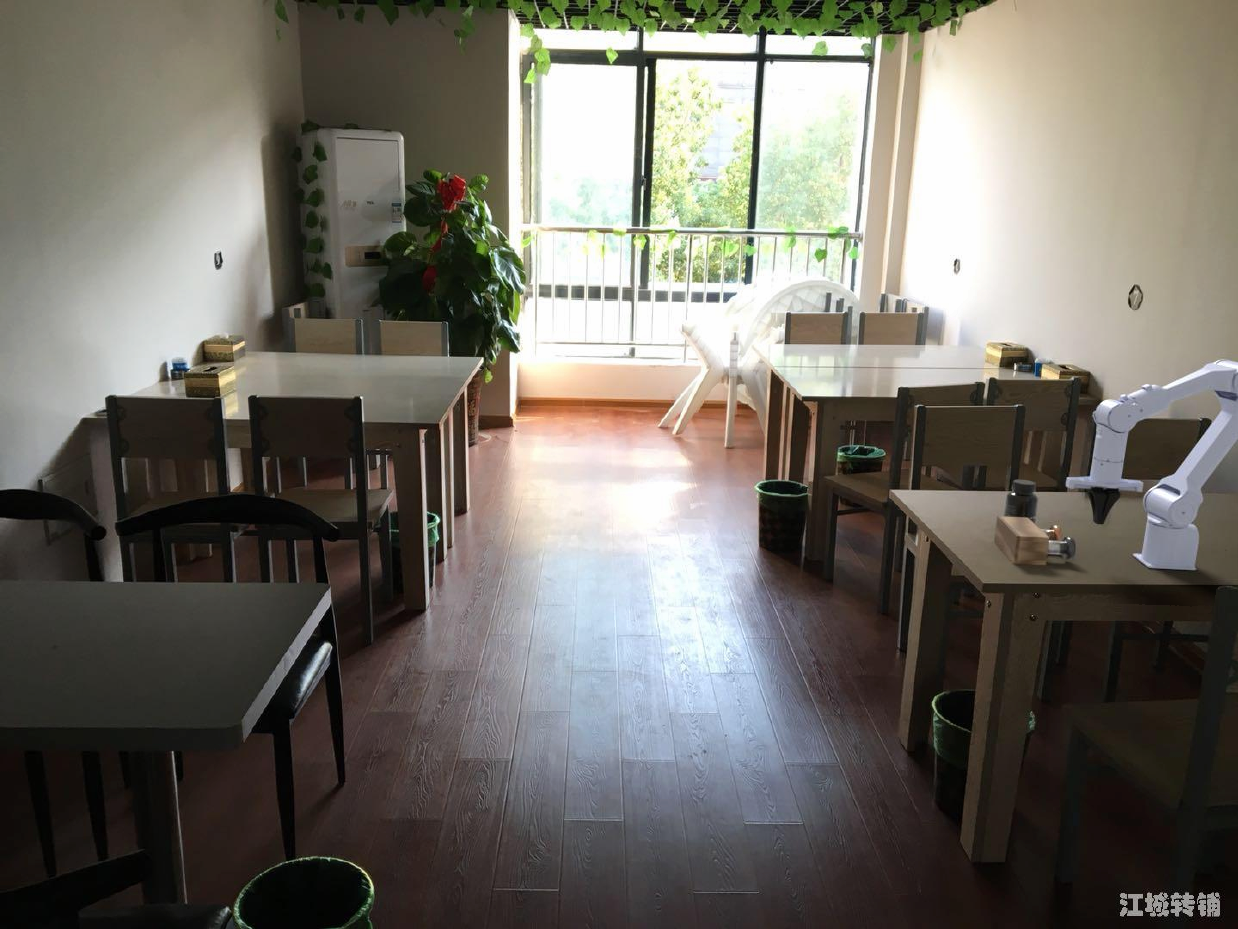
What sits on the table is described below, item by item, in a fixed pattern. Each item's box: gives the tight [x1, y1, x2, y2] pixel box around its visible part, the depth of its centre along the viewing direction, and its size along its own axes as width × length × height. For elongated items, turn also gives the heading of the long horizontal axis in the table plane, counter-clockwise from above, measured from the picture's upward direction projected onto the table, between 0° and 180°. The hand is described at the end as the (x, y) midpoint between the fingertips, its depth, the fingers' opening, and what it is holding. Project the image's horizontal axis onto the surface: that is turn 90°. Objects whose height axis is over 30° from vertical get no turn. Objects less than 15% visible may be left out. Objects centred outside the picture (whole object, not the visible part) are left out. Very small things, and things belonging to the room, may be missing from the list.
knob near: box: [1047, 536, 1077, 560], centre depth 206 cm, size 7×5×5 cm
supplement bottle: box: [1003, 479, 1039, 525], centre depth 224 cm, size 7×7×12 cm
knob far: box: [1040, 525, 1063, 541], centre depth 214 cm, size 7×5×5 cm
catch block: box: [993, 515, 1049, 566], centre depth 210 cm, size 6×14×6 cm, turn 175°
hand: (1098, 522), depth 204 cm, fingers closed
